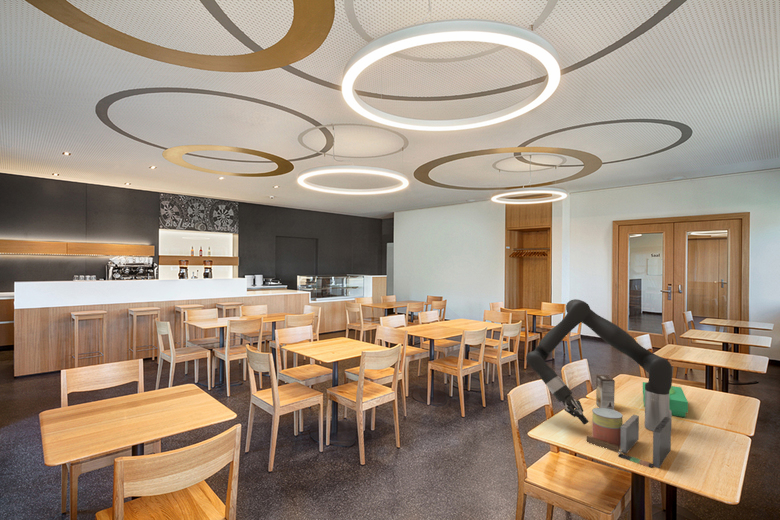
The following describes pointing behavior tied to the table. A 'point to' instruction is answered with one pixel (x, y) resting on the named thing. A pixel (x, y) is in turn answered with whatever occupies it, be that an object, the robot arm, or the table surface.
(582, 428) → the table surface
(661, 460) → the frame
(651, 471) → the table surface
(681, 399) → the green box
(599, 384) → the coffee box
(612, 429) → the canned food
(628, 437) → the steel plate
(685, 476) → the table surface
